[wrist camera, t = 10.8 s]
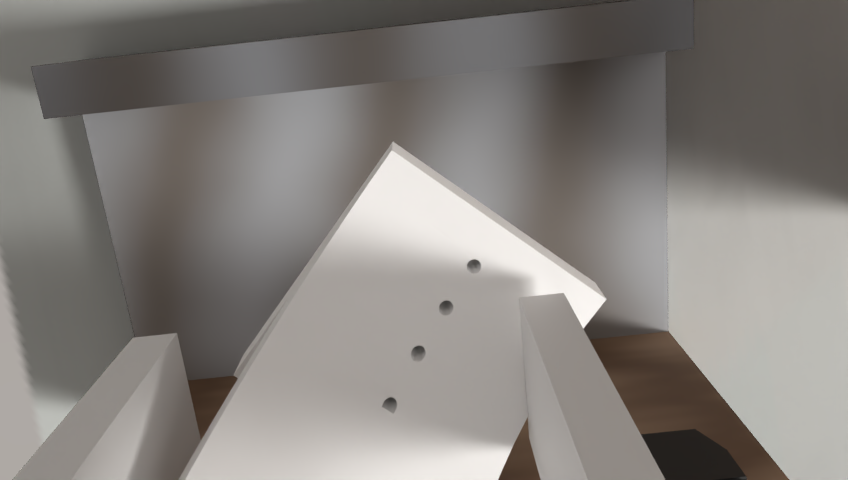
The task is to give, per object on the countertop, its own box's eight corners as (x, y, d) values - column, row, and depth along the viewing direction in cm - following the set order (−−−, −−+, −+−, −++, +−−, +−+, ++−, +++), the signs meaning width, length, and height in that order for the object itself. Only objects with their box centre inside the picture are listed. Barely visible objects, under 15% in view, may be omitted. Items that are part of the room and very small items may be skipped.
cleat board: (654, -3, 24) (1561, -79, 5) (660, 368, 28) (1186, 1117, 9) (83, 60, 25) (-1082, 208, 5) (166, 419, 28) (-342, 1243, 9)
